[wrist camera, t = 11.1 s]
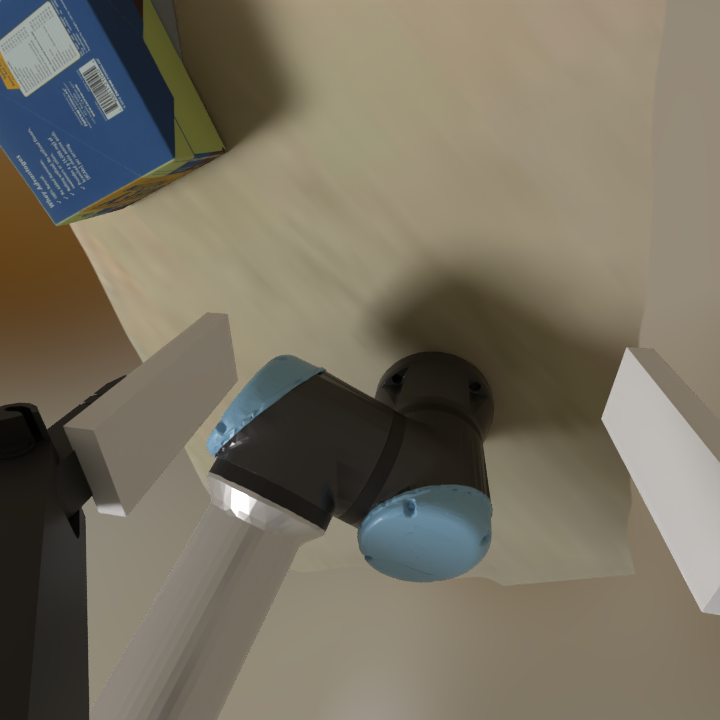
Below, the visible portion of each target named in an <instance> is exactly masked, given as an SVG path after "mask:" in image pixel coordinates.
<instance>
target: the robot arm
mask: <svg viewBox="0 0 720 720" xmlns="http://www.w3.org/2000/svg"><path fill="white" fill-rule="evenodd" d="M237 381H238V378H237V371H236V365H235V358H234V352H233V345H232V339H231V333H230V326H229V320H228V314H220V313H206V314H205V315H204V316H202V317H201V318H200V319H199V320H197V321H196V322H195V323H194V324H192V325H191V326H190V327H188V328H187V329H186V330H185V331H183V332H182V333H181V334H180V335H178V336H177V337H176V338H175V339H173V340H172V341H171V342H169V343H168V344H167V345H166V346H164V347H163V348H162V349H161V350H159V351H158V352H157V353H155V354H154V355H153V356H152V357H150V358H149V359H148V360H147V361H145V362H144V363H143V364H142V365H140V366H139V367H138V368H136V369H135V370H134V371H133V372H131V373H130V374H129V375H128V376H126V375H125V376H122V377H120V378H118V379H116V380H114V381H112V382H110V383H107V384H106V385H105V386H103V387H102V388H101V389H99V390H98V391H97V392H96V393H94V396H90V397H89V398H88V399H86V400H85V401H84V402H83V404H82V405H79V406H77V407H76V408H75V409H73V410H72V411H71V412H69V413H68V414H67V415H65V416H64V417H63V418H62V419H60V420H59V421H58V422H56V423H55V424H54V425H52V426H51V427H50V428H48V429H46V426H45V424H44V422H43V420H42V417H41V415H40V413H39V411H38V408H37V406H35V405H33V404H30V403H15V404H9V405H4V406H1V407H0V720H217V718H218V716H219V714H220V712H221V710H222V708H223V706H224V704H225V701H226V699H227V697H228V695H229V693H230V691H231V689H232V686H233V685H234V682H235V680H236V678H237V676H238V674H239V672H240V670H241V668H242V666H243V664H244V662H245V659H246V657H247V655H248V653H249V651H250V649H251V647H252V644H253V643H254V640H255V638H256V636H257V634H258V632H259V630H260V628H261V626H262V624H263V622H264V619H265V617H266V615H267V613H268V611H269V609H270V607H271V605H272V603H273V601H274V598H275V596H276V594H277V592H278V590H279V588H280V586H281V584H282V581H283V579H284V577H285V575H286V573H287V571H288V569H289V567H290V565H291V563H292V561H293V559H294V556H295V554H296V552H297V550H298V548H299V547H300V546H301V545H303V544H304V543H306V542H308V541H311V540H313V539H315V538H318V537H320V536H323V535H324V533H325V531H326V529H327V527H328V525H329V522H330V520H331V518H332V517H333V516H334V517H336V518H338V519H340V520H342V521H344V522H346V523H348V524H350V525H352V526H354V527H356V528H357V529H358V533H357V534H358V536H357V538H358V542H359V548H360V551H361V553H362V554H363V555H365V560H366V561H367V562H368V563H369V564H370V565H371V566H372V567H373V568H375V569H376V570H378V571H379V572H381V573H383V574H385V575H387V576H390V577H393V578H396V579H399V580H404V581H410V582H433V581H441V580H447V579H451V578H454V577H457V576H459V575H462V574H464V573H466V572H467V571H469V570H471V569H472V568H473V567H475V566H476V565H477V564H478V563H479V562H480V561H481V560H482V559H483V558H484V556H485V555H486V553H487V551H488V549H489V546H490V543H491V517H492V511H493V509H492V504H491V500H490V493H489V486H488V478H487V471H486V463H485V456H484V449H483V443H484V441H485V438H486V436H487V434H488V431H489V429H490V426H491V424H492V420H493V412H494V407H493V400H492V394H491V390H490V387H489V385H488V383H487V381H486V379H485V378H484V376H483V375H482V374H481V373H480V371H479V370H478V369H476V368H475V367H474V366H473V365H472V364H470V363H469V362H467V361H465V360H463V359H461V358H459V357H456V356H453V355H450V354H446V353H439V352H425V353H418V354H414V355H411V356H408V357H406V358H403V359H401V360H399V361H398V362H396V363H395V364H394V365H392V366H391V367H390V368H389V369H388V370H387V371H386V372H385V374H384V375H383V376H382V378H381V380H380V382H379V385H378V388H377V391H376V395H375V399H374V398H372V397H370V396H369V395H367V394H365V393H363V392H361V391H360V390H358V389H356V388H354V387H352V386H350V385H349V384H347V383H345V382H344V381H342V380H340V379H338V378H337V377H335V376H333V375H331V374H330V373H328V372H326V369H324V368H322V367H321V368H318V367H316V366H314V365H312V364H310V363H308V362H305V361H303V360H301V359H299V358H297V357H295V356H292V355H281V356H278V357H275V358H274V359H272V360H271V361H269V362H268V363H267V364H266V365H265V366H263V367H262V368H261V369H260V370H259V371H258V372H257V373H256V375H255V376H254V377H253V378H252V379H251V380H250V381H249V382H248V383H247V385H246V386H245V387H244V388H243V389H242V391H241V392H240V393H239V394H238V396H237V397H236V398H235V399H234V401H233V402H232V403H231V405H230V406H229V407H228V409H227V410H226V412H225V413H224V414H223V416H222V420H220V422H219V423H218V424H217V426H216V427H215V428H214V430H213V431H212V433H211V435H210V436H209V439H208V441H207V450H208V451H209V452H210V454H211V456H213V457H216V456H218V457H217V459H216V461H215V463H214V464H213V466H212V468H211V469H210V471H209V473H208V474H207V479H208V483H209V487H210V492H211V504H210V505H209V507H208V509H207V511H206V512H205V514H204V516H203V518H202V519H201V521H200V523H199V524H198V526H197V528H196V529H195V531H194V533H193V535H192V536H191V538H190V540H189V541H188V543H187V545H186V547H185V548H184V550H183V552H182V553H181V555H180V557H179V559H178V560H177V562H176V564H175V565H174V567H173V569H172V571H171V572H170V574H169V576H168V577H167V579H166V581H165V583H164V584H163V586H162V588H161V589H160V591H159V593H158V595H157V597H156V598H155V600H154V601H153V603H152V605H151V607H150V608H149V610H148V612H147V613H146V615H145V617H144V619H143V621H142V622H141V624H140V625H139V627H138V629H137V631H136V632H135V634H134V636H133V637H132V639H131V641H130V642H129V644H128V646H127V648H126V650H125V651H124V653H123V654H122V656H121V658H120V660H119V661H118V663H117V665H116V666H115V668H114V670H113V672H112V673H111V675H110V677H109V678H108V680H107V682H106V684H105V686H104V687H103V689H102V690H101V692H100V694H99V696H98V697H97V699H96V701H95V702H94V704H93V706H92V708H91V709H90V711H89V679H88V627H87V579H86V578H87V575H86V524H85V515H84V513H83V510H82V508H81V507H82V505H84V504H85V502H86V501H87V500H88V499H89V498H90V497H91V496H92V497H93V499H94V501H95V504H96V506H97V509H98V511H99V513H105V514H111V515H117V516H123V517H127V515H128V514H129V513H130V512H131V510H132V509H133V508H134V507H135V506H136V504H137V503H138V502H139V500H140V499H141V498H142V497H143V496H144V494H145V493H146V492H147V491H148V490H149V488H150V487H151V486H152V485H153V483H154V482H155V481H156V480H157V479H158V477H159V476H160V475H161V474H162V473H163V471H164V470H165V469H166V468H167V466H168V465H169V464H170V463H171V461H172V460H173V459H174V458H175V457H176V455H177V454H178V453H179V452H180V450H181V449H182V448H183V447H184V446H185V444H186V443H187V442H188V441H189V439H190V438H191V437H192V436H193V435H194V433H195V432H196V431H197V430H198V428H199V427H200V426H201V425H202V424H203V422H204V421H205V420H206V419H207V417H208V416H209V415H210V414H211V413H212V411H213V410H214V409H215V408H216V406H217V405H218V404H219V403H220V401H221V400H222V399H223V398H224V397H225V395H226V394H227V393H228V392H229V390H230V389H231V388H232V387H233V386H234V384H235V383H236V382H237ZM601 420H602V421H603V423H604V425H605V427H606V429H607V431H608V433H609V435H610V437H611V439H612V441H613V443H614V444H615V446H616V448H617V450H618V452H619V454H620V456H621V458H622V460H623V462H624V464H625V466H626V468H627V469H628V471H629V473H630V475H631V477H632V479H633V481H634V483H635V485H636V487H637V489H638V491H639V492H640V494H641V496H642V498H643V500H644V502H645V504H646V506H647V508H648V509H649V512H650V514H651V515H652V517H653V519H654V521H655V523H656V525H657V527H658V529H659V531H660V533H661V535H662V537H663V539H664V540H665V542H666V544H667V546H668V548H669V550H670V552H671V554H672V556H673V558H674V560H675V562H676V563H677V565H678V567H679V569H680V571H681V573H682V575H683V577H684V579H685V581H686V582H687V584H688V587H689V588H690V590H691V592H692V594H693V596H694V598H695V600H696V602H697V604H698V606H699V608H700V610H701V611H702V612H704V613H710V614H716V615H720V421H719V420H718V419H717V418H716V417H715V416H714V414H713V413H712V412H711V411H710V410H709V409H708V408H707V407H706V406H705V405H704V404H703V403H702V401H701V400H700V399H699V398H698V397H697V396H696V395H695V394H694V393H693V392H692V390H691V389H690V388H689V387H688V386H687V385H686V384H685V383H684V382H683V381H682V379H681V378H680V377H679V376H678V375H677V374H676V373H675V372H674V371H673V370H672V369H671V367H670V366H669V365H668V364H667V363H666V362H665V361H664V360H663V359H662V358H661V357H660V355H659V354H658V353H657V352H656V351H655V350H654V349H646V348H634V347H626V350H625V353H624V356H623V359H622V362H621V364H620V367H619V370H618V373H617V376H616V378H615V381H614V384H613V387H612V390H611V393H610V395H609V398H608V401H607V404H606V407H605V410H604V412H603V415H602V418H601Z"/></svg>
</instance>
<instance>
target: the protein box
mask: <svg viewBox="0 0 720 720" xmlns="http://www.w3.org/2000/svg"><path fill="white" fill-rule="evenodd" d="M0 147H1V148H2V149H3V151H4V152H5V154H6V155H7V157H8V158H9V159H10V161H11V162H12V163H13V165H14V166H15V168H16V169H17V170H18V172H19V173H20V175H21V176H22V178H23V179H24V180H25V182H26V183H27V185H28V186H29V187H30V189H31V190H32V192H33V193H34V195H35V196H36V197H37V199H38V200H39V202H40V203H41V204H42V206H43V208H44V209H45V211H46V212H47V214H48V215H49V217H50V218H51V219H52V221H53V222H54V223H55V225H57V226H60V225H65V224H69V223H73V222H76V221H80V220H84V219H87V218H91V217H95V216H98V215H102V214H106V213H110V212H113V211H117V210H120V209H123V208H125V207H127V206H129V205H130V204H132V203H134V202H136V201H138V200H140V199H141V198H143V197H145V196H147V195H149V194H150V193H152V192H154V191H156V190H158V189H160V188H161V187H163V186H165V185H167V184H169V183H170V182H172V181H174V180H176V179H178V178H180V177H182V176H184V175H185V174H187V173H189V172H191V171H193V170H195V169H197V168H198V167H201V166H202V165H204V164H206V163H208V162H210V161H212V160H213V159H215V158H217V157H219V156H221V155H222V154H224V153H226V148H225V147H224V145H223V143H222V141H221V139H220V137H219V135H218V133H217V131H216V129H215V127H214V125H213V123H212V121H211V119H210V117H209V115H208V113H207V111H206V109H205V107H204V105H203V103H202V101H201V99H200V97H199V95H198V93H197V91H196V89H195V87H194V85H193V83H192V81H191V80H190V78H189V76H188V74H187V72H186V70H185V68H184V66H183V64H182V62H181V60H180V58H179V56H178V54H177V52H176V50H175V48H174V46H173V44H172V42H171V40H170V38H169V36H168V34H167V32H166V30H165V28H164V26H163V24H162V22H161V21H160V19H159V17H158V15H157V13H156V11H155V9H154V7H153V5H152V3H151V1H150V0H0Z"/></svg>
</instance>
